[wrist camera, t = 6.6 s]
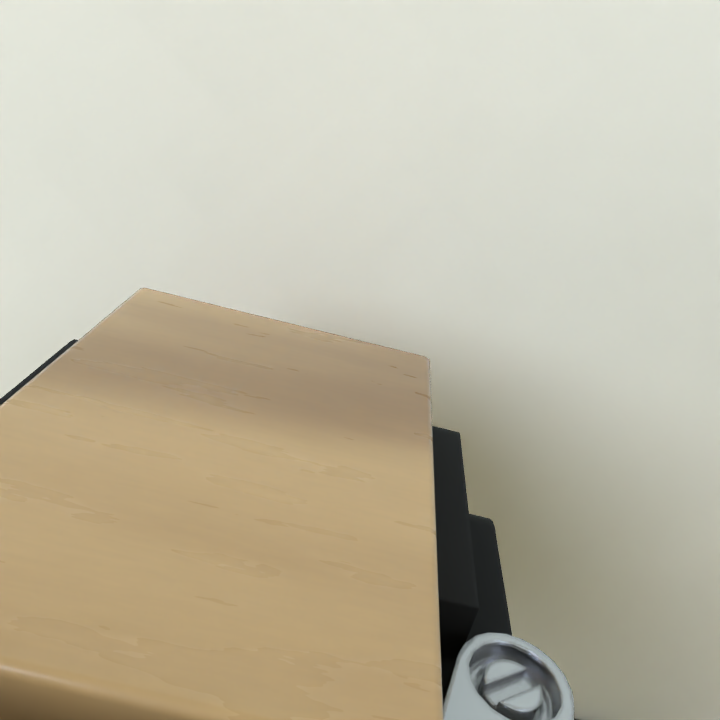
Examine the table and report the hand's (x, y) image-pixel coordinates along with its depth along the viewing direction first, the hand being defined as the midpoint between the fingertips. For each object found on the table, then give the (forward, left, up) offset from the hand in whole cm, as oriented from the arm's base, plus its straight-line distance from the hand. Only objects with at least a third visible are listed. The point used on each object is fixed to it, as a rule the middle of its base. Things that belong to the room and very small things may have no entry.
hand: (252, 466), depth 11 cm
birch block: (0, 0, -1) cm, 1 cm away
